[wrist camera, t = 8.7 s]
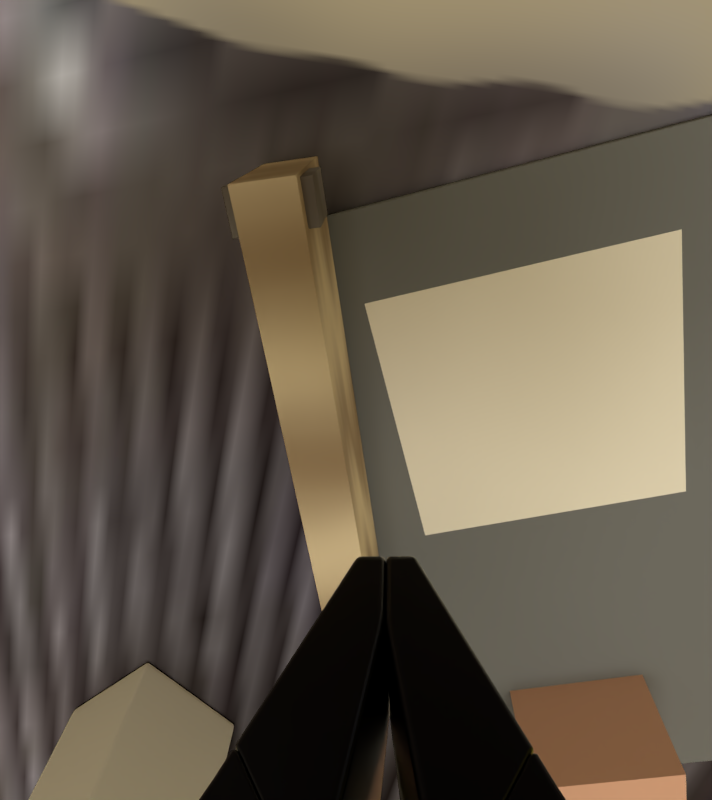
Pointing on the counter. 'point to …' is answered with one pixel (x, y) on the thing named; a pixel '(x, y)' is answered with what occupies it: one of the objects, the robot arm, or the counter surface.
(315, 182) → the tan wooden bar
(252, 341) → the counter surface
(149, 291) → the counter surface
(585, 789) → the block
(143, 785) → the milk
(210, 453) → the counter surface
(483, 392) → the grey panel
